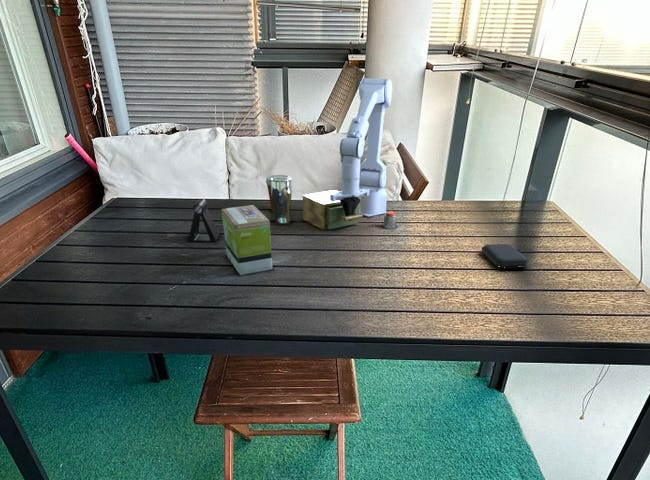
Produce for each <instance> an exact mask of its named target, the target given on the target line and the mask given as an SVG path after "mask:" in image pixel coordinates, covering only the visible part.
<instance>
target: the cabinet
mask: <svg viewBox="0 0 650 480" xmlns="http://www.w3.org/2000/svg"><path fill="white" fill-rule="evenodd" d="M337 192H339V191H338V190H335V189H332V190H326V191H319V192H314V193H309V194H303V195H302V220H303V221H305V222H307V223H309V224H311V225H313V226H314V227H317V228H319V229H321V230H323V231H326V230H329V229H328V226H326V225H325V207H326V206H331V205H337V204H341V202H340V200H337V201H335V202H333V201H330V194H334V193H337Z"/></svg>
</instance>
